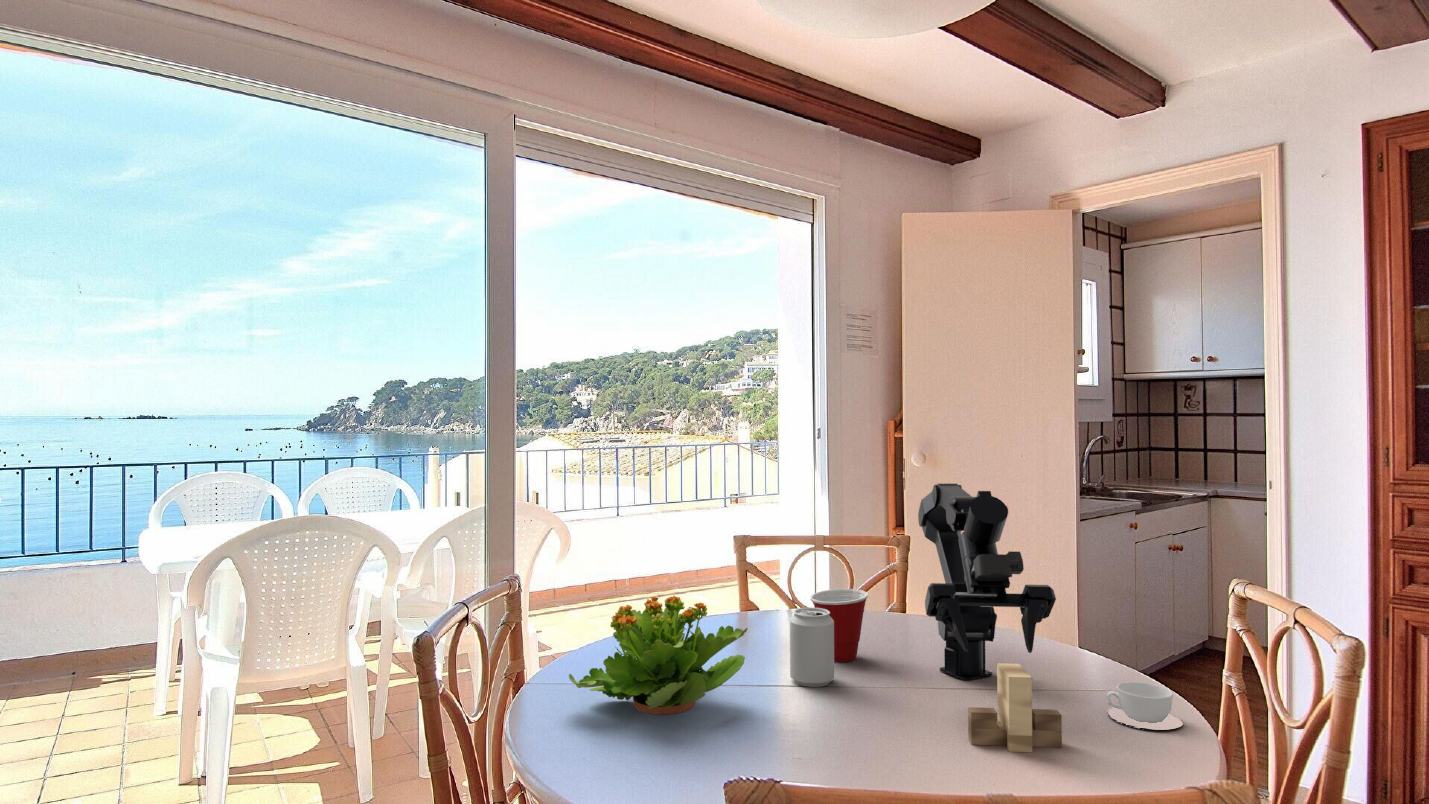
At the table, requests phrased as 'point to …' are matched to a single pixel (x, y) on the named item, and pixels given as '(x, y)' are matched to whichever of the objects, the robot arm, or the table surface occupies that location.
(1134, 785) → the table surface
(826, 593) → the plastic cup
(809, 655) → the can
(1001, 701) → the tall wooden block
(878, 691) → the table surface
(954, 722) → the table surface
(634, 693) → the potted flower
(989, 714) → the lower notched wooden block
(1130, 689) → the teacup
